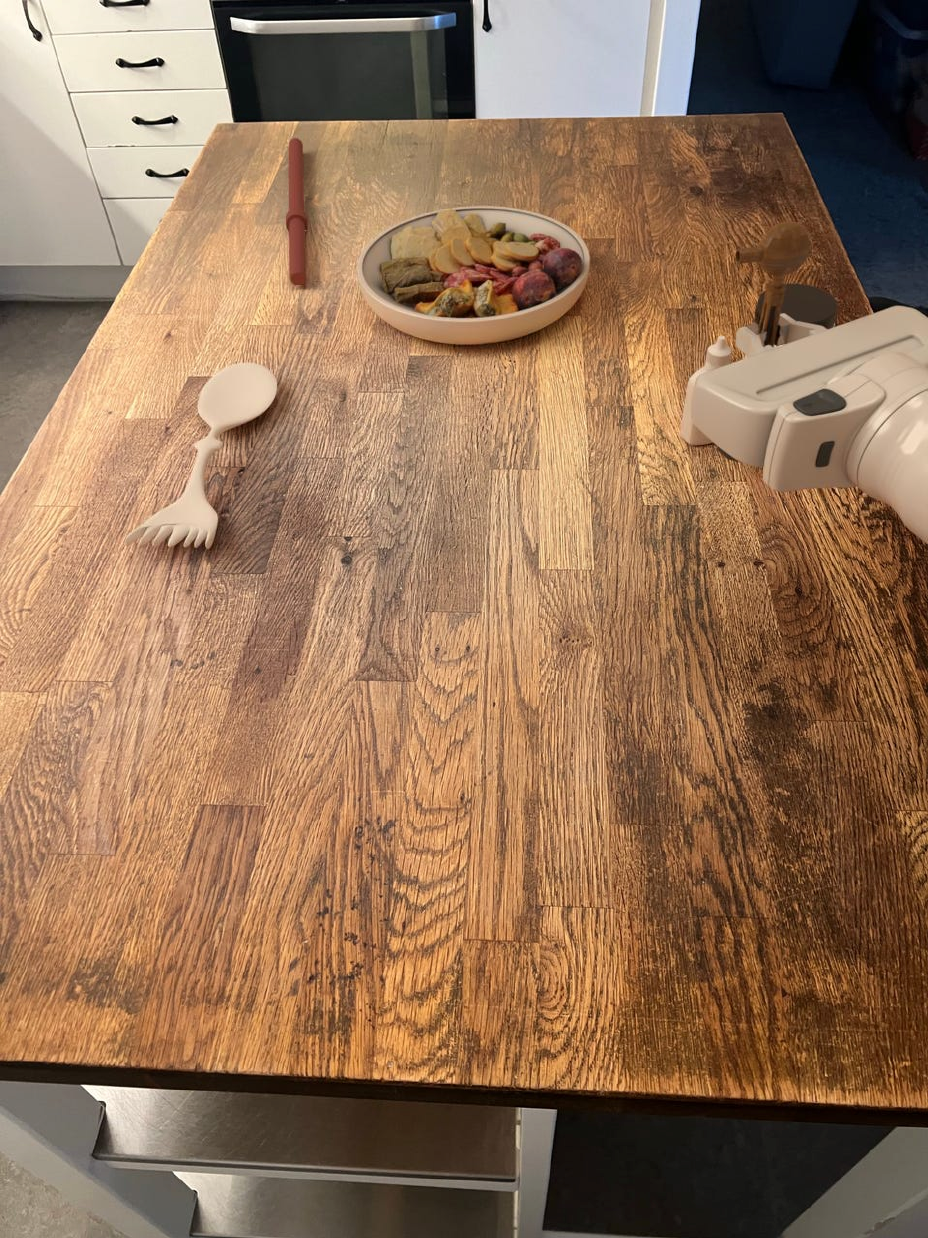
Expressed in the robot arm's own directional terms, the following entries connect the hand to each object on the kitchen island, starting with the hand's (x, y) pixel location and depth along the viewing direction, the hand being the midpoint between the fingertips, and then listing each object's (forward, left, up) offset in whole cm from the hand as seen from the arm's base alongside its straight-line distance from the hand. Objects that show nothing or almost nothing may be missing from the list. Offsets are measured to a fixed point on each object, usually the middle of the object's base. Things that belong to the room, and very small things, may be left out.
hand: (757, 328), depth 76 cm
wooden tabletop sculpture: (0, +1, -11) cm, 11 cm away
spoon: (+52, -15, -24) cm, 59 cm away
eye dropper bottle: (-2, -17, -24) cm, 29 cm away
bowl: (+23, -49, -24) cm, 59 cm away
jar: (-11, -23, -24) cm, 35 cm away
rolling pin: (+49, -75, -24) cm, 93 cm away
